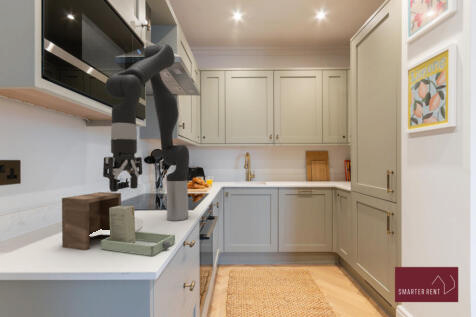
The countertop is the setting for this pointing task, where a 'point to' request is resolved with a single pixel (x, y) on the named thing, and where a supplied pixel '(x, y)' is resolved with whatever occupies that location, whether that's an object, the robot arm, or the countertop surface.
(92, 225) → the walnut shelf
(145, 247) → the sliding drawer
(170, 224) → the countertop surface
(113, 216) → the skincare box
